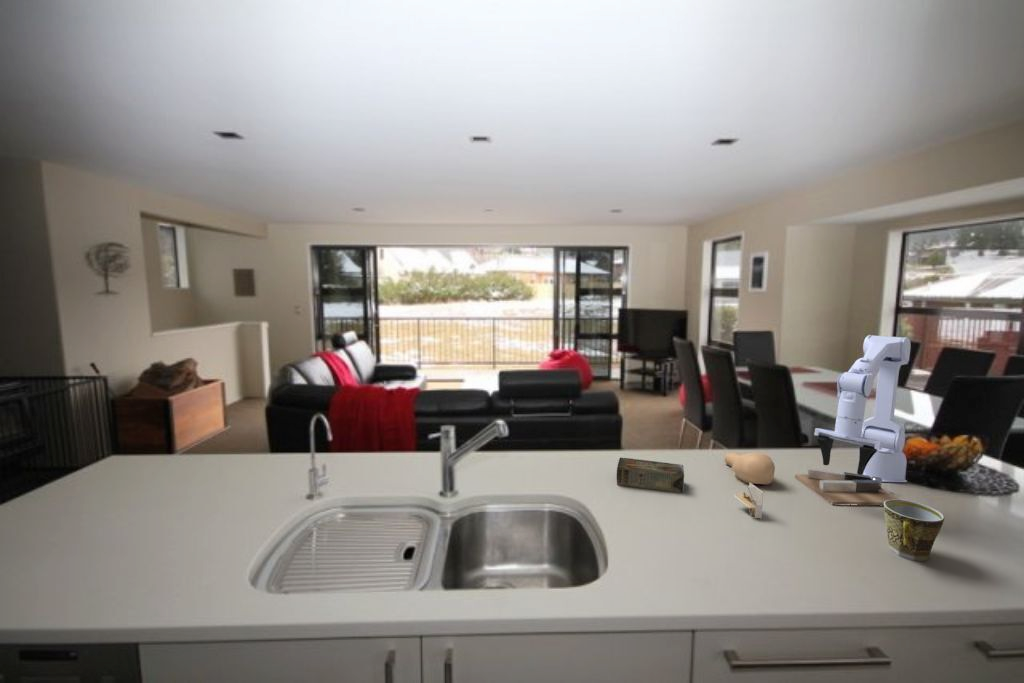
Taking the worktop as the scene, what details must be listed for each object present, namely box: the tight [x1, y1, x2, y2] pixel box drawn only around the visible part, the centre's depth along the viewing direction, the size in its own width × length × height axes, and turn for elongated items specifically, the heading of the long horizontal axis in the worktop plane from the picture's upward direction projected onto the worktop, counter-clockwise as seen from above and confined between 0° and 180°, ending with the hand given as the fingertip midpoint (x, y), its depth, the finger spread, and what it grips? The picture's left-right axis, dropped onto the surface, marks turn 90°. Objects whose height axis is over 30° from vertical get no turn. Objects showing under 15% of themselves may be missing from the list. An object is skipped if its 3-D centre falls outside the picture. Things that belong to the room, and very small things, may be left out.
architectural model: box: [734, 483, 764, 519], centre depth 119 cm, size 3×7×7 cm, turn 5°
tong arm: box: [806, 467, 883, 489], centre depth 134 cm, size 18×2×3 cm, turn 62°
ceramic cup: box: [883, 499, 945, 562], centre depth 100 cm, size 13×10×10 cm
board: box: [794, 473, 902, 507], centre depth 131 cm, size 19×18×1 cm
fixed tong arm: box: [819, 480, 879, 493], centre depth 129 cm, size 15×2×3 cm, turn 87°
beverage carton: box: [616, 457, 685, 494], centre depth 137 cm, size 8×19×7 cm, turn 73°
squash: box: [723, 451, 776, 485], centre depth 142 cm, size 11×20×9 cm, turn 5°
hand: (842, 469), depth 121 cm, fingers open, 7 cm apart
